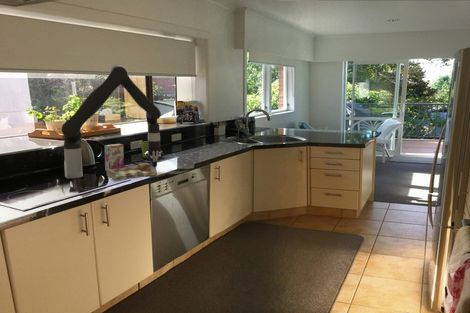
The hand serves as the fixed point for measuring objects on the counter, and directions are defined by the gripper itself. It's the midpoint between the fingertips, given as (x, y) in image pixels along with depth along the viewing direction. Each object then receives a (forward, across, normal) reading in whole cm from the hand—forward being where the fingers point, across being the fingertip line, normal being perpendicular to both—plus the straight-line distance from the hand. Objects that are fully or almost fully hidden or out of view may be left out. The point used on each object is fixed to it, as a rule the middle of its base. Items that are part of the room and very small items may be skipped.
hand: (154, 167), depth 253 cm
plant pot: (+3, +15, +47) cm, 49 cm away
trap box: (+3, -16, -2) cm, 16 cm away
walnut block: (+1, -7, 0) cm, 7 cm away
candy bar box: (+3, -20, +17) cm, 26 cm away
